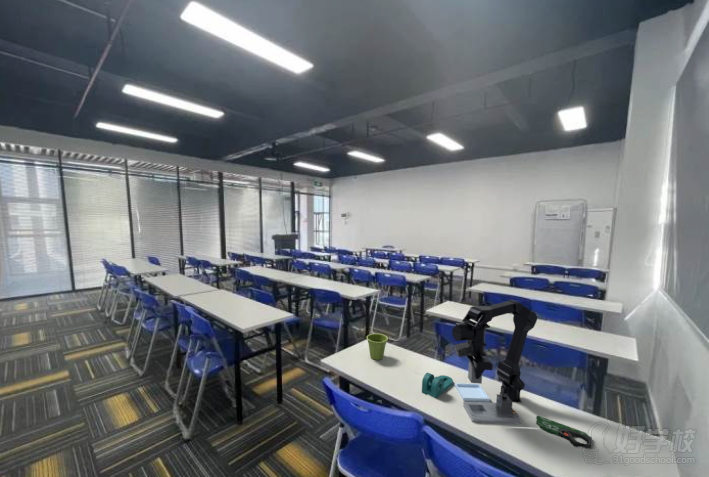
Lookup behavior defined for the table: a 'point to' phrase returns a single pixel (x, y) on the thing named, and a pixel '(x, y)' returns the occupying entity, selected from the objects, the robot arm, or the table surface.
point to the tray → (471, 392)
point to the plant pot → (377, 345)
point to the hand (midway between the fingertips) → (475, 375)
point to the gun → (564, 432)
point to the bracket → (435, 384)
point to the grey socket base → (493, 411)
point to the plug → (473, 374)
